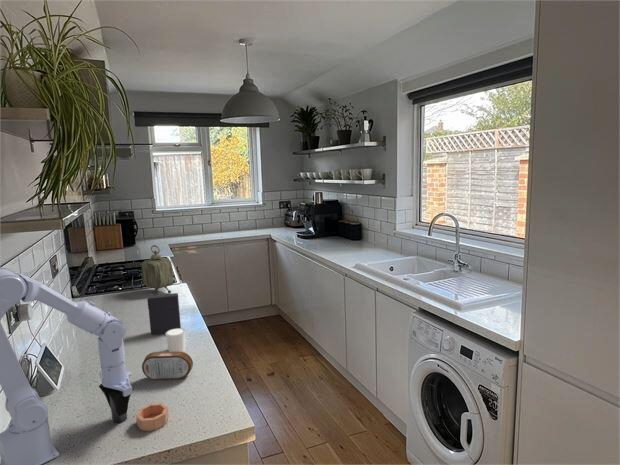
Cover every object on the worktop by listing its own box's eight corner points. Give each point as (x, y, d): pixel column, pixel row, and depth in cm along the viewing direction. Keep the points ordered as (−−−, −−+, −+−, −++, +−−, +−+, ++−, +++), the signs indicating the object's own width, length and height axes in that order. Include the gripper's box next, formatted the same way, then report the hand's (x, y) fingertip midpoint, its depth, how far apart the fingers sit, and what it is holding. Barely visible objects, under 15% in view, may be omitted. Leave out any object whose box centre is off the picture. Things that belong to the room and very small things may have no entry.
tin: (194, 374, 128) (192, 349, 127) (191, 379, 125) (189, 354, 123) (145, 376, 128) (143, 351, 126) (142, 382, 125) (139, 356, 123)
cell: (116, 425, 104) (112, 396, 103) (110, 419, 106) (106, 391, 105) (129, 418, 107) (126, 390, 105) (123, 413, 109) (120, 385, 107)
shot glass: (187, 344, 149) (186, 326, 148) (186, 353, 142) (184, 334, 141) (168, 347, 148) (166, 328, 146) (165, 355, 141) (164, 336, 140)
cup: (146, 435, 100) (145, 424, 99) (133, 423, 105) (132, 412, 104) (173, 420, 105) (172, 410, 105) (159, 410, 110) (158, 400, 109)
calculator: (181, 327, 164) (178, 292, 162) (180, 332, 160) (177, 295, 158) (152, 331, 162) (148, 295, 159) (150, 335, 158) (147, 298, 155)
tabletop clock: (174, 293, 209) (170, 245, 204) (159, 298, 202) (154, 248, 197) (158, 288, 217) (153, 242, 213) (142, 293, 210) (137, 245, 206)
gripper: (142, 365, 102) (147, 414, 104) (116, 348, 111) (121, 394, 114) (113, 376, 97) (119, 428, 99) (89, 358, 106) (95, 405, 108)
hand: (118, 410), depth 106 cm, fingers closed on cell, 3 cm apart
